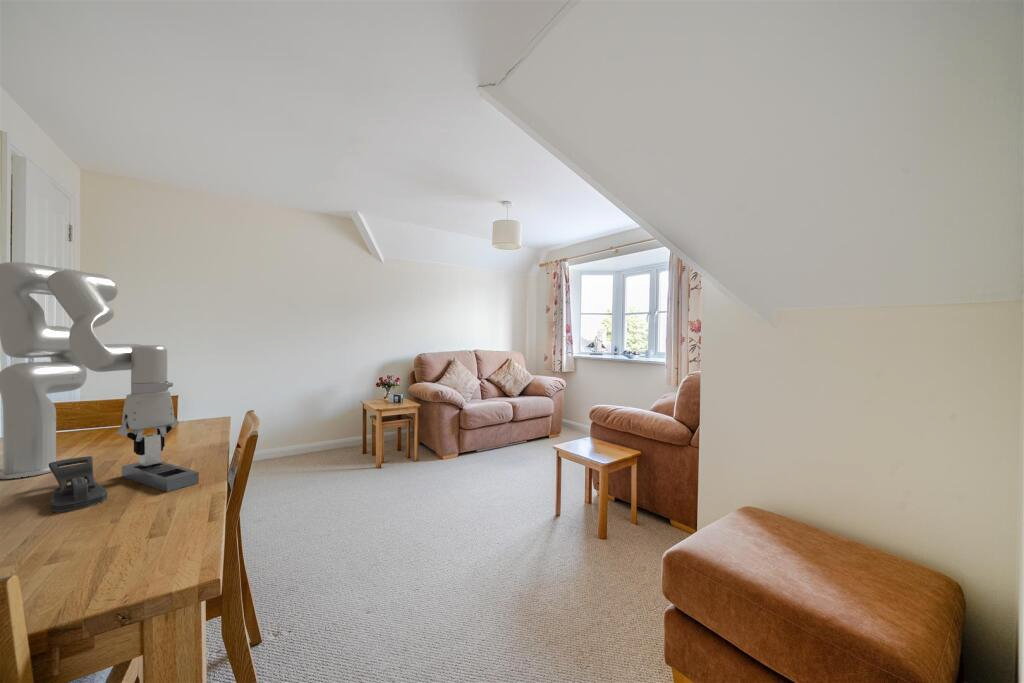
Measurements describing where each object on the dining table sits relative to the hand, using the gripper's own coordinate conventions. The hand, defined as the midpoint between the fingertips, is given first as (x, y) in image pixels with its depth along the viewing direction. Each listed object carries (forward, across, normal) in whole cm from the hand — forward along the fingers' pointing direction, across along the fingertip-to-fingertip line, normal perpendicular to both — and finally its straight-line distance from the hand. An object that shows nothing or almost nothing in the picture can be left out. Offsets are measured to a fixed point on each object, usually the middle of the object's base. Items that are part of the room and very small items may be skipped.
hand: (149, 451), depth 109 cm
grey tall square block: (+3, 0, 0) cm, 3 cm away
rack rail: (+7, 0, +6) cm, 9 cm away
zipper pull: (+7, +14, 0) cm, 16 cm away
